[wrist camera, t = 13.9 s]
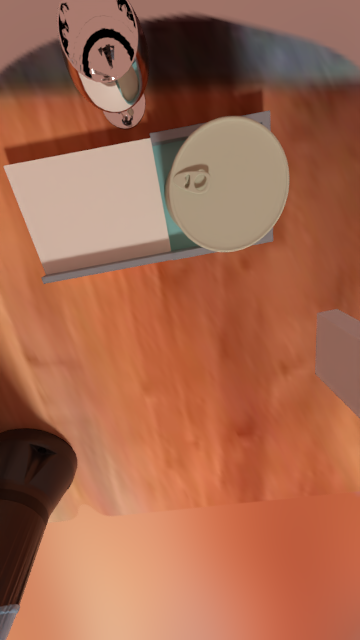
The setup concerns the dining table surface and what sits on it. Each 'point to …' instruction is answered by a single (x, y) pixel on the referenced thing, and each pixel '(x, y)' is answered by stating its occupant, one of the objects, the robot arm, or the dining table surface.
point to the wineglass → (106, 56)
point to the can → (228, 184)
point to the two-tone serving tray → (106, 206)
